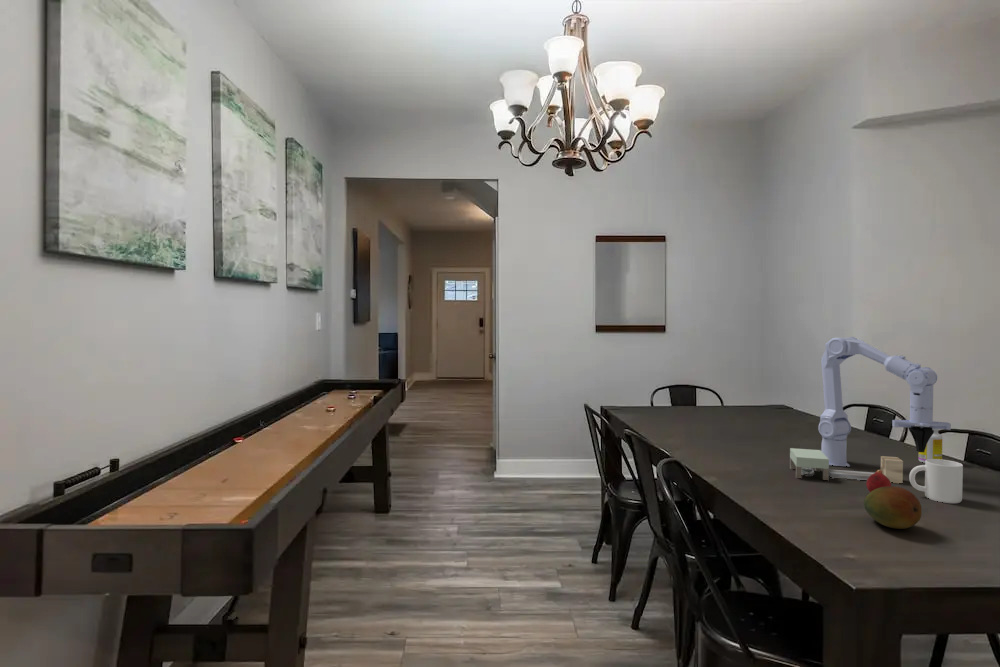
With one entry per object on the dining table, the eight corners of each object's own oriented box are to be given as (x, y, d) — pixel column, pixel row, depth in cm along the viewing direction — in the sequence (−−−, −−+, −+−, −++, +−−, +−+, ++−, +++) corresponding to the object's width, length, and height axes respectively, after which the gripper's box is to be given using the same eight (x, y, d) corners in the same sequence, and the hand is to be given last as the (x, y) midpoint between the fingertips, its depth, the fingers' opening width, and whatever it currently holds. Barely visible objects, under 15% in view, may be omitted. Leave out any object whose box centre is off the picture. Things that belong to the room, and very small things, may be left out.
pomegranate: (883, 502, 157) (883, 473, 157) (861, 496, 162) (862, 468, 162) (895, 499, 160) (895, 471, 160) (873, 493, 165) (874, 466, 165)
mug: (911, 499, 160) (911, 462, 160) (906, 491, 167) (907, 456, 167) (965, 505, 154) (966, 467, 154) (958, 497, 162) (959, 461, 161)
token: (795, 472, 189) (795, 466, 189) (812, 473, 187) (812, 467, 187) (797, 476, 184) (797, 470, 184) (815, 477, 183) (815, 471, 183)
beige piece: (826, 474, 186) (827, 452, 186) (897, 479, 180) (897, 457, 180) (830, 478, 181) (830, 456, 181) (902, 483, 175) (903, 461, 175)
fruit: (901, 539, 132) (901, 496, 131) (848, 521, 143) (849, 481, 143) (932, 531, 136) (933, 489, 136) (879, 514, 148) (879, 476, 147)
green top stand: (789, 468, 193) (790, 448, 193) (819, 470, 190) (820, 450, 190) (796, 478, 181) (796, 457, 180) (828, 481, 178) (829, 459, 178)
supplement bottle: (943, 462, 200) (943, 425, 200) (940, 466, 195) (941, 428, 195) (919, 459, 205) (920, 423, 204) (916, 462, 200) (917, 426, 200)
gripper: (897, 408, 174) (897, 452, 174) (955, 410, 169) (954, 456, 169) (890, 404, 180) (889, 447, 181) (945, 407, 176) (944, 451, 176)
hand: (920, 451), depth 175 cm, fingers closed
